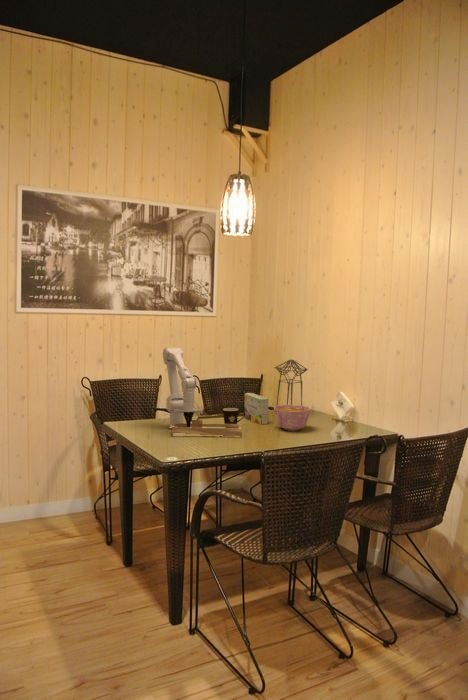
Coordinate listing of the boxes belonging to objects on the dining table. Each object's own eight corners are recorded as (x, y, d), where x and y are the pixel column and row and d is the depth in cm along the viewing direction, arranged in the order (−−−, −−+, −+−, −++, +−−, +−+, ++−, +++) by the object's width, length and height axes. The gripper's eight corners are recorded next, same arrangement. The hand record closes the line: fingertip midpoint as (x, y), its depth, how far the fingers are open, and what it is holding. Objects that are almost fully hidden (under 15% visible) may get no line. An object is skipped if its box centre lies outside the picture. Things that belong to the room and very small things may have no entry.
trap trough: (174, 431, 294) (174, 423, 294) (241, 432, 294) (241, 424, 293) (171, 436, 283) (171, 427, 283) (241, 437, 283) (241, 428, 282)
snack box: (243, 418, 331) (244, 393, 330) (252, 417, 334) (252, 392, 333) (260, 425, 312) (260, 398, 311) (268, 424, 315) (269, 398, 313)
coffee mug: (221, 428, 303) (221, 410, 302) (225, 425, 311) (225, 407, 310) (241, 429, 300) (242, 411, 299) (245, 426, 308) (245, 408, 307)
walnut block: (192, 427, 291) (192, 419, 291) (202, 427, 291) (202, 420, 291) (191, 429, 286) (192, 422, 286) (201, 429, 286) (201, 422, 286)
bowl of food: (267, 430, 299) (267, 409, 298) (281, 423, 316) (282, 403, 315) (302, 435, 289) (302, 413, 288) (315, 427, 307) (315, 407, 306)
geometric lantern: (288, 412, 348) (291, 357, 345) (307, 417, 336) (309, 360, 333) (270, 415, 338) (272, 358, 335) (288, 420, 326) (291, 361, 323)
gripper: (173, 401, 283) (173, 428, 284) (202, 402, 283) (202, 428, 284) (175, 399, 290) (175, 425, 292) (203, 399, 290) (203, 425, 291)
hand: (188, 426), depth 288 cm, fingers closed
